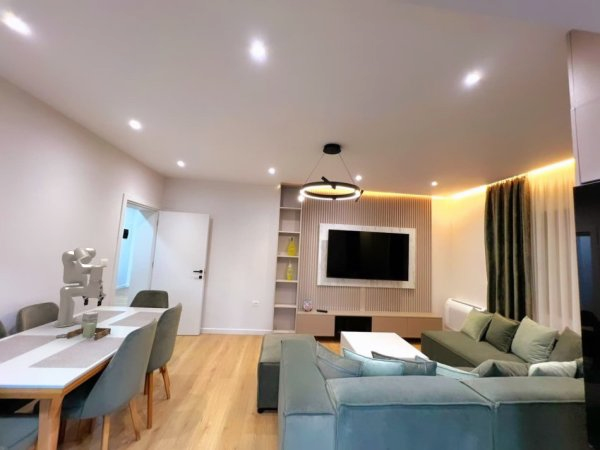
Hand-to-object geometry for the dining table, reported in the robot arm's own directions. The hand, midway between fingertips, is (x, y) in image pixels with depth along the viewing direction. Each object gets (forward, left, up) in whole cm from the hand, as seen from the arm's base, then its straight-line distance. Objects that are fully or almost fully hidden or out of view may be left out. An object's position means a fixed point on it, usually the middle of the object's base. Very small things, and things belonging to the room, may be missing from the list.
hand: (92, 305), depth 203 cm
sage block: (0, 0, -22) cm, 22 cm away
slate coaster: (+3, -16, -22) cm, 27 cm away
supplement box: (-16, -12, -22) cm, 30 cm away
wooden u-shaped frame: (0, 0, -22) cm, 22 cm away
